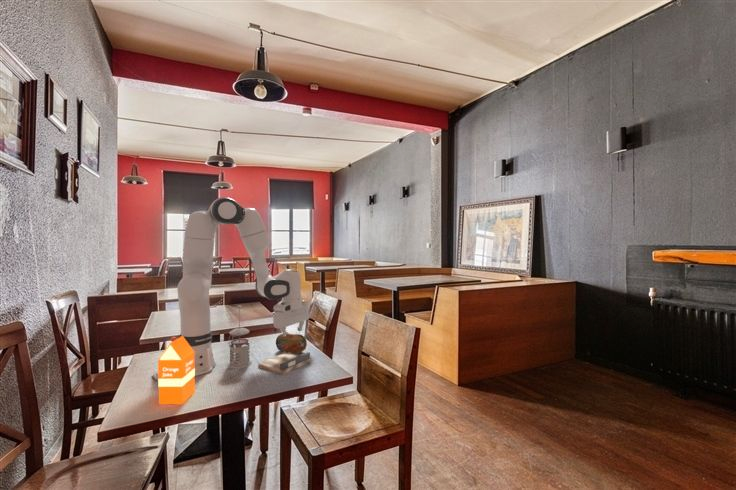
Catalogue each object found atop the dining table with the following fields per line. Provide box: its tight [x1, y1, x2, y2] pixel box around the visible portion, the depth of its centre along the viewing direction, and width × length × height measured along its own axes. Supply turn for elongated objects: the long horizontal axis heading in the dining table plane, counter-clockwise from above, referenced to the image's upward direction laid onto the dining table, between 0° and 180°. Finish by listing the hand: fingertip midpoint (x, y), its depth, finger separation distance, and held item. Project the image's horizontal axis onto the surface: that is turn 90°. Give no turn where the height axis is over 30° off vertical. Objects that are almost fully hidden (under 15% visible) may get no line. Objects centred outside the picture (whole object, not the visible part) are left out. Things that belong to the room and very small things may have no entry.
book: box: [257, 352, 311, 375], centre depth 148 cm, size 16×14×2 cm
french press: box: [227, 304, 253, 370], centre depth 148 cm, size 10×12×25 cm
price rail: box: [280, 352, 311, 371], centre depth 145 cm, size 16×1×2 cm, turn 147°
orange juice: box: [157, 336, 196, 405], centre depth 118 cm, size 8×9×20 cm
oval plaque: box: [275, 332, 308, 354], centre depth 164 cm, size 15×3×8 cm, turn 73°
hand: (292, 333), depth 164 cm, fingers open, 8 cm apart
